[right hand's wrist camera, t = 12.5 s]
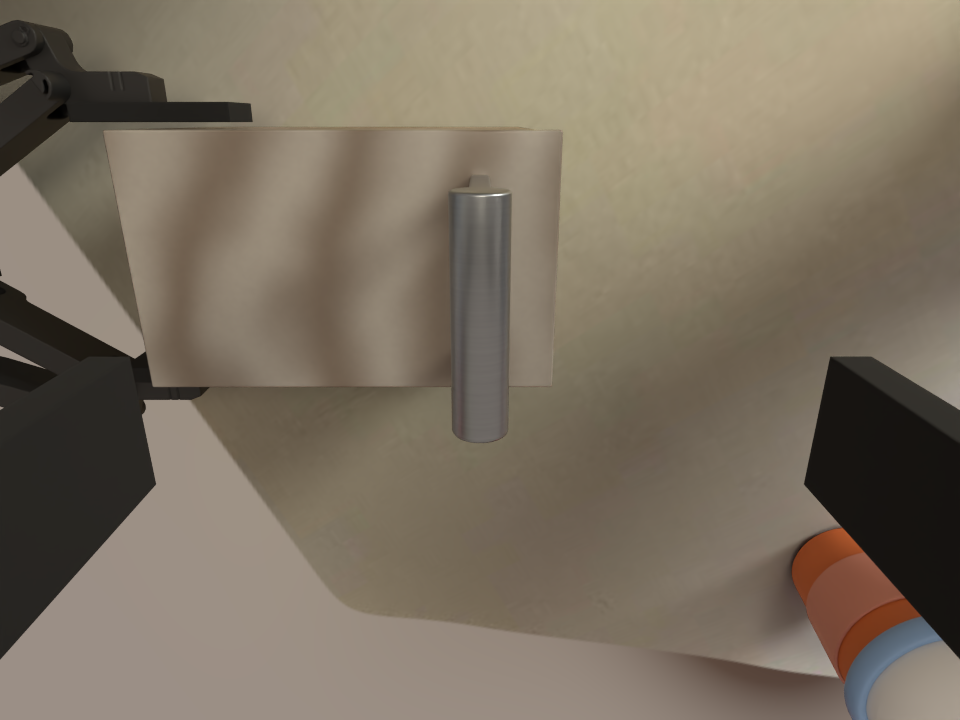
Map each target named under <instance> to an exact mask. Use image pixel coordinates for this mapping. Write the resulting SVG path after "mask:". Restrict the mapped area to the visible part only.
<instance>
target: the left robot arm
mask: <svg viewBox="0 0 960 720" xmlns="http://www.w3.org/2000/svg"><path fill="white" fill-rule="evenodd" d="M72 52H73V44H72V40H71V38H70V37H69V36H68V34H67V33H65V32H64V31H63V30H60V29H57V28H52V27H48V26H43V25H38V24H34V23H29V22H24V21H20V20H15V21H11V22H8V23H6V24H4V25H1V26H0V86H1V85H4V84H6V83H8V82H11V81H13V80H16V79H18V78H21V77H23V76H26V75H33V77H32V78H31V79H29V80H28V81H27V82H26V83H25V84H23V85H22V86H21V87H20V88H19V89H17V90H16V91H15V92H14V93H13V94H11V95H10V96H9V97H8V98H7V99H5V100H4V101H3V102H2V103H1V104H0V176H1V175H2V174H4V173H5V172H6V171H8V170H9V169H10V168H11V167H13V166H14V165H15V164H16V163H18V162H19V161H20V160H21V159H23V158H24V157H25V156H26V155H28V154H29V153H30V152H31V151H33V150H34V149H35V148H36V147H38V146H39V145H40V144H41V143H43V142H44V141H45V140H46V139H48V138H49V137H50V136H51V135H53V134H54V133H55V132H56V131H58V130H59V129H60V128H61V127H63V126H64V125H65V124H66V123H68V122H69V121H70V122H253V121H252V113H251V104H248V103H234V102H167V98H166V92H165V85H164V79H162V78H160V77H157V76H155V75H152V74H148V73H140V72H87V71H85V70H84V69H83V68H82V67H81V66H80V65H79V64H78V63H77V61H76V60H75V58H74V56H73V54H72ZM0 276H2V275H1V271H0ZM0 345H1V346H3V347H5V348H7V349H9V350H11V351H12V352H14V353H16V354H18V355H20V356H22V357H24V358H26V359H28V360H30V361H32V362H34V363H36V364H38V365H40V366H42V367H43V368H45V369H43V368H40V367H37V366H33V365H30V364H27V363H23V362H20V361H16V360H13V359H9V358H6V357H1V356H0V406H1V407H4V408H5V407H6V406H8V405H10V404H11V403H13V402H15V401H16V400H18V399H20V398H21V397H23V396H25V395H26V394H28V393H30V392H31V391H33V390H34V389H36V388H38V387H39V386H41V385H43V384H44V383H46V382H48V381H49V380H51V379H53V378H54V377H56V376H58V375H59V374H61V373H63V372H64V371H66V370H68V369H69V368H71V367H73V366H74V365H76V364H77V363H79V362H81V361H82V360H84V359H86V358H87V357H130V356H128V355H127V354H125V353H123V352H121V351H119V350H117V349H115V348H113V347H112V346H110V345H108V344H106V343H104V342H102V341H100V340H98V339H97V338H95V337H93V336H91V335H89V334H87V333H85V332H83V331H82V330H80V329H78V328H76V327H74V326H72V325H70V324H69V323H67V322H65V321H63V320H61V319H59V318H57V317H55V316H54V315H52V314H50V313H48V312H46V311H44V310H42V309H40V308H39V307H37V306H35V305H33V304H31V303H29V302H28V301H27V300H26V295H25V294H24V293H22V292H20V291H19V290H17V289H15V288H13V287H11V286H9V285H7V284H5V283H4V282H2V281H0ZM130 361H131V366H132V371H133V375H134V380H135V385H136V390H137V395H138V400H139V404H140V409H141V414H143V413H144V412H145V409H146V406H145V403H144V401H143V400H170V399H172V400H178V399H180V400H192V399H194V398H197V397H199V396H201V395H202V394H203V393H204V392H205V391H206V390H207V389H208V388H209V387H153V385H152V380H151V375H150V370H149V365H148V359H147V354H146V352H144V353H143V354H141V355H140V356H138V357H137V358H136V359H134V358H132V357H130Z"/></svg>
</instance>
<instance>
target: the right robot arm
mask: <svg viewBox="0 0 960 720" xmlns="http://www.w3.org/2000/svg"><path fill="white" fill-rule="evenodd" d="M155 485H156V482H155V477H154V472H153V467H152V462H151V458H150V453H149V448H148V443H147V438H146V434H145V429H144V424H143V419H142V414H141V409H140V404H139V400H138V395H137V390H136V385H135V380H134V375H133V371H132V366H131V361H130V357H87V358H86V359H84V360H82V361H81V362H79V363H77V364H76V365H74V366H73V367H71V368H69V369H68V370H66V371H64V372H63V373H61V374H59V375H58V376H56V377H54V378H53V379H51V380H49V381H48V382H46V383H44V384H43V385H41V386H39V387H38V388H36V389H34V390H33V391H31V392H30V393H28V394H26V395H25V396H23V397H21V398H20V399H18V400H16V401H15V402H13V403H11V404H10V405H8V406H6V407H5V408H3V409H1V410H0V659H1V658H2V657H3V656H4V655H5V653H6V652H7V651H8V650H9V649H10V648H11V647H12V646H13V644H14V643H15V642H16V641H17V640H18V639H19V638H20V637H21V636H22V634H23V633H24V632H25V631H26V630H27V629H28V628H29V626H30V625H31V624H32V623H33V622H34V621H35V620H36V619H37V618H38V616H39V615H40V614H41V613H42V612H43V611H44V610H45V609H46V607H47V606H48V605H49V604H50V603H51V602H52V601H53V600H54V598H55V597H56V596H57V595H58V594H59V593H60V592H61V591H62V589H63V588H64V587H65V586H66V585H67V584H68V583H69V582H70V580H71V579H72V578H73V577H74V576H75V575H76V574H77V573H78V571H79V570H80V569H81V568H82V567H83V566H84V565H85V564H86V562H87V561H88V560H89V559H90V558H91V557H92V556H93V554H94V553H95V552H96V551H97V550H98V549H99V548H100V547H101V546H102V544H103V543H104V542H105V541H106V540H107V539H108V538H109V537H110V535H111V534H112V533H113V532H114V531H115V530H116V529H117V528H118V526H119V525H120V524H121V523H122V522H123V521H124V520H125V519H126V517H127V516H128V515H129V514H130V513H131V512H132V511H133V510H134V508H135V507H136V506H137V505H138V504H139V503H140V502H141V501H142V499H143V498H144V497H145V496H146V495H147V494H148V493H149V492H150V491H151V489H152V488H153V487H154V486H155ZM804 485H805V486H806V487H807V488H808V489H809V491H810V492H811V493H812V494H813V495H814V496H815V497H816V498H817V500H818V501H819V502H820V503H821V504H822V505H823V506H824V507H825V509H826V510H827V511H828V512H829V513H830V514H831V515H832V516H833V517H834V519H835V520H836V521H837V522H838V523H839V524H840V525H841V526H842V528H843V529H844V530H845V531H846V532H847V533H848V534H849V535H850V537H851V538H852V539H853V540H854V541H855V542H856V543H857V544H858V546H859V547H860V548H861V549H862V550H863V551H864V552H865V553H866V555H867V556H868V557H869V558H870V559H871V560H872V561H873V562H874V564H875V565H876V566H877V567H878V568H879V569H880V570H881V571H882V573H883V574H884V575H885V576H886V577H887V578H888V579H889V580H890V582H891V583H892V584H893V585H894V586H895V587H896V588H897V589H898V591H899V592H900V593H901V594H902V595H903V596H904V597H905V598H906V600H907V601H908V602H909V603H910V604H911V605H912V606H913V607H914V609H915V610H916V611H917V612H918V613H919V614H920V615H921V616H922V618H923V619H924V620H925V621H926V622H927V623H928V624H929V625H930V627H931V628H932V629H933V630H934V631H935V632H936V633H937V634H938V636H939V637H940V638H941V639H942V640H943V641H944V642H945V643H946V645H947V646H948V647H949V648H950V649H951V650H952V651H953V652H954V653H955V655H956V656H957V657H958V658H959V659H960V410H959V409H957V408H955V407H954V406H952V405H950V404H949V403H947V402H945V401H944V400H942V399H940V398H939V397H937V396H935V395H934V394H932V393H930V392H929V391H927V390H926V389H924V388H922V387H921V386H919V385H917V384H916V383H914V382H912V381H911V380H909V379H907V378H906V377H904V376H902V375H901V374H899V373H897V372H896V371H894V370H892V369H891V368H889V367H887V366H886V365H884V364H883V363H881V362H879V361H878V360H876V359H874V358H873V357H830V361H829V366H828V371H827V375H826V380H825V385H824V390H823V395H822V400H821V404H820V409H819V414H818V419H817V424H816V429H815V433H814V438H813V443H812V448H811V453H810V458H809V462H808V467H807V472H806V477H805V482H804Z"/></svg>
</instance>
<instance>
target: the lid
mask: <svg viewBox="0 0 960 720" xmlns="http://www.w3.org/2000/svg"><path fill="white" fill-rule="evenodd" d="M103 136H104V141H105V146H106V151H107V156H108V161H109V166H110V171H111V176H112V181H113V186H114V191H115V197H116V202H117V207H118V212H119V217H120V222H121V227H122V232H123V237H124V242H125V247H126V253H127V258H128V263H129V268H130V273H131V278H132V283H133V288H134V293H135V298H136V303H137V309H138V314H139V319H140V324H141V329H142V334H143V339H144V344H145V349H146V354H147V359H148V365H149V370H150V375H151V380H152V385H153V387H452V430H453V433H454V434H455V436H456V437H458V438H459V439H461V440H464V441H467V442H473V443H488V442H493V441H496V440H499V439H501V438H503V437H504V436H505V435H506V433H507V431H508V406H509V387H551V386H552V373H553V350H554V327H555V304H556V281H557V257H558V234H559V211H560V188H561V165H562V142H563V131H562V130H104V131H103Z"/></svg>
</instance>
